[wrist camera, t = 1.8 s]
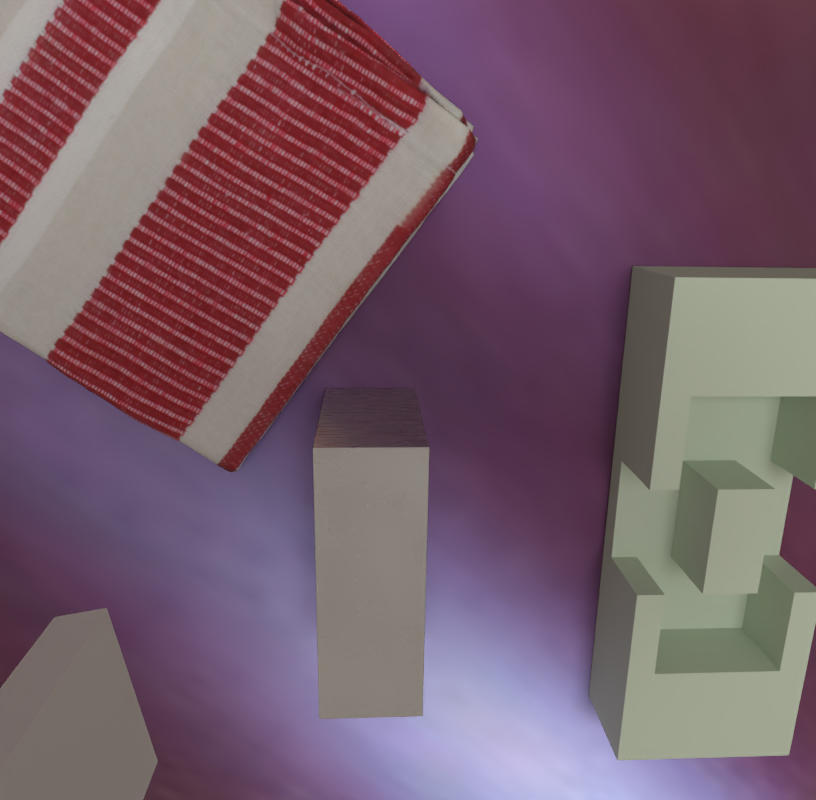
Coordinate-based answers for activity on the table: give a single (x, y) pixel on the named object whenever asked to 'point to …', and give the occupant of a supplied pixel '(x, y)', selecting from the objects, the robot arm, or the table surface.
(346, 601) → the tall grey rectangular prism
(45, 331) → the dish towel
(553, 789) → the table surface
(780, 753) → the rail
